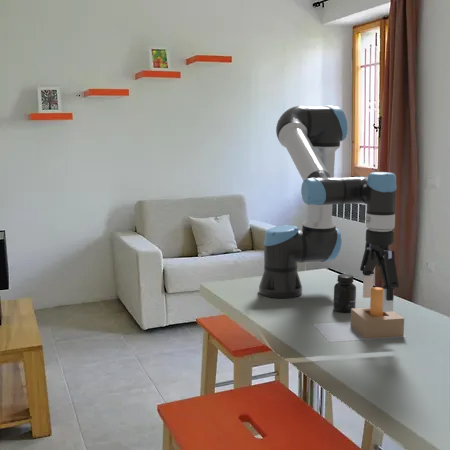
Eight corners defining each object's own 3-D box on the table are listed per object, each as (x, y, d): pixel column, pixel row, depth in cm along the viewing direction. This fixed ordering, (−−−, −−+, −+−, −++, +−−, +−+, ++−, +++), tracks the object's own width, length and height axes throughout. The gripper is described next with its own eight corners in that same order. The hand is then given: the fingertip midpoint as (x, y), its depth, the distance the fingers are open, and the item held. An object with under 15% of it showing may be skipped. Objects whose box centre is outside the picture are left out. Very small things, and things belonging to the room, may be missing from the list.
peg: (367, 328, 168) (368, 287, 166) (379, 327, 168) (381, 287, 167) (372, 332, 164) (373, 290, 163) (384, 332, 165) (386, 290, 163)
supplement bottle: (355, 316, 182) (356, 278, 180) (333, 315, 183) (333, 277, 181) (355, 310, 188) (356, 273, 186) (333, 308, 190) (334, 272, 188)
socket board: (312, 327, 172) (312, 307, 171) (383, 323, 176) (384, 303, 175) (329, 345, 158) (329, 324, 157) (406, 340, 161) (407, 319, 160)
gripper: (350, 222, 173) (348, 292, 177) (386, 237, 149) (383, 318, 152) (374, 221, 174) (372, 291, 178) (414, 236, 150) (410, 317, 153)
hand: (377, 304), depth 165 cm, fingers open, 13 cm apart
